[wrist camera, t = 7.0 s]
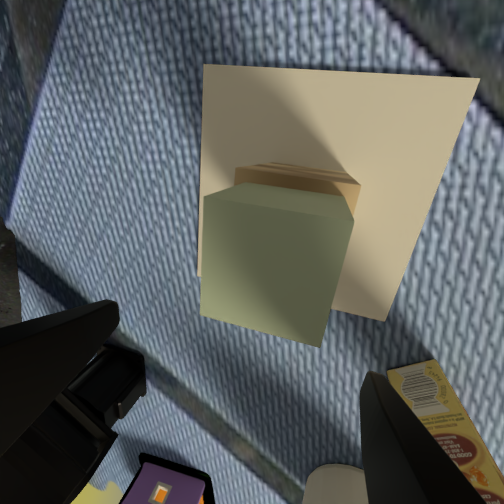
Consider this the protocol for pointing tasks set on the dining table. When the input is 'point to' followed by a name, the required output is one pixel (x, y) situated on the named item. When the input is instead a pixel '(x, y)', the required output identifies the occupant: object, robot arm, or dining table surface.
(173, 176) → the dining table surface
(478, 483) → the candy box
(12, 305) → the dark slate chunk
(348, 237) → the sage cube
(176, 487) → the miniature room corner
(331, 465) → the bottle
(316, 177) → the tower top block
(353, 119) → the felt mat
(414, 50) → the dining table surface
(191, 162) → the dining table surface
